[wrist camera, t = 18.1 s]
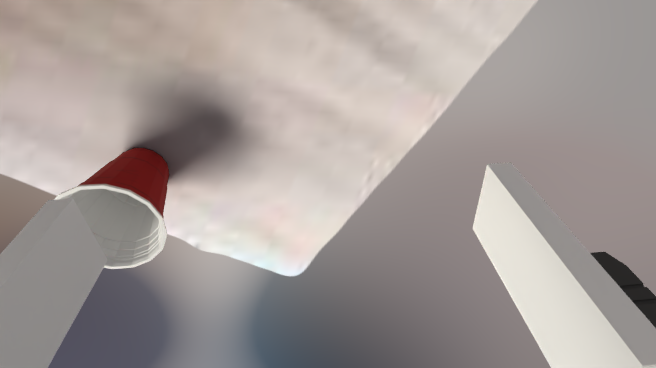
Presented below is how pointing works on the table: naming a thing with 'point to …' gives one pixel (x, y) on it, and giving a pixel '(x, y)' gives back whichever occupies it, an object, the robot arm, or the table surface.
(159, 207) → the plastic cup
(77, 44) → the table surface
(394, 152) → the table surface
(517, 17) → the table surface
